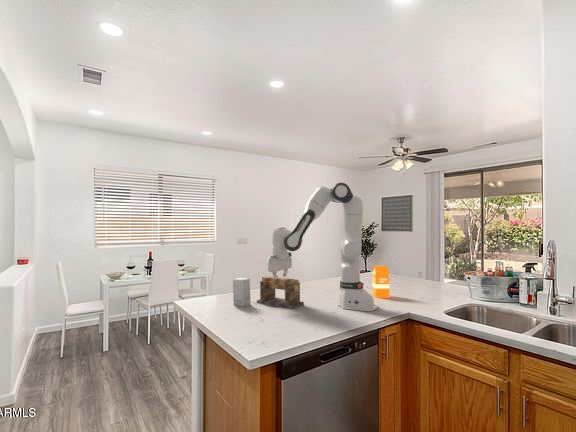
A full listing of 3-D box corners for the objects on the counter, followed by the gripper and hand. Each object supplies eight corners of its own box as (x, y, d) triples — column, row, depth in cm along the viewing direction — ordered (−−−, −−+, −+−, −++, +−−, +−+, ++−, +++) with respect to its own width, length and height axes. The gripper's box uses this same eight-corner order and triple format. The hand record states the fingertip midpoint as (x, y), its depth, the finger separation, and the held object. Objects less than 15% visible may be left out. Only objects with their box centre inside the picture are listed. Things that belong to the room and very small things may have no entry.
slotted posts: (303, 304, 187) (303, 282, 187) (292, 309, 177) (292, 285, 177) (268, 298, 202) (268, 278, 202) (256, 302, 192) (256, 281, 192)
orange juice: (389, 297, 203) (389, 266, 203) (375, 297, 203) (375, 266, 204) (385, 295, 211) (385, 264, 211) (372, 295, 211) (372, 264, 211)
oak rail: (298, 290, 185) (298, 279, 185) (295, 291, 181) (294, 280, 181) (265, 285, 198) (265, 276, 198) (262, 286, 195) (262, 277, 195)
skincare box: (250, 304, 187) (250, 278, 187) (243, 307, 181) (243, 280, 181) (239, 302, 191) (239, 277, 192) (232, 305, 186) (232, 278, 186)
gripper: (274, 256, 179) (274, 281, 179) (293, 253, 197) (293, 275, 196) (265, 256, 183) (265, 280, 183) (284, 252, 200) (285, 274, 200)
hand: (280, 277), depth 190 cm, fingers open, 8 cm apart
